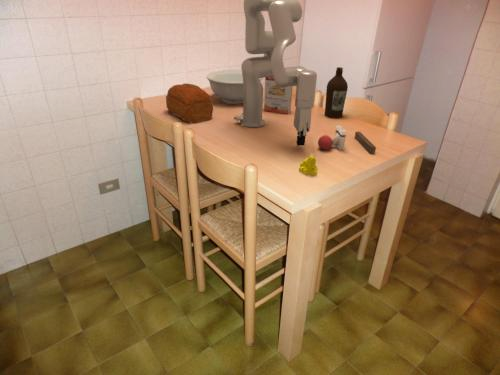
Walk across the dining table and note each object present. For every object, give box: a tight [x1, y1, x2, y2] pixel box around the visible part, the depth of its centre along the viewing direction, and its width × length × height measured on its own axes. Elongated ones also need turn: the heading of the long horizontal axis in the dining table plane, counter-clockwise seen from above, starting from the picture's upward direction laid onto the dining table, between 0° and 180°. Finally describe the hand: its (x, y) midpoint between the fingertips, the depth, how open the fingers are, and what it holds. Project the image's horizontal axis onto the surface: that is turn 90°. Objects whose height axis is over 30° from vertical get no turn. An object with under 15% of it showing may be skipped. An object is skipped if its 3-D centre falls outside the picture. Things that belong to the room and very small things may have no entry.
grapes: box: [298, 153, 319, 177], centre depth 132 cm, size 6×8×8 cm
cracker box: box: [263, 76, 294, 115], centre depth 192 cm, size 14×6×21 cm, turn 68°
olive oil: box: [324, 66, 349, 119], centre depth 186 cm, size 11×11×25 cm
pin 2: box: [337, 129, 347, 151], centre depth 151 cm, size 2×2×8 cm
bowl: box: [206, 69, 263, 104], centre depth 211 cm, size 32×32×15 cm
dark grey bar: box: [354, 131, 377, 155], centre depth 156 cm, size 2×18×3 cm, turn 6°
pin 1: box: [334, 124, 343, 147], centre depth 155 cm, size 2×2×8 cm
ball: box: [317, 134, 333, 150], centre depth 151 cm, size 6×6×6 cm
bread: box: [165, 83, 214, 124], centre depth 185 cm, size 16×27×16 cm, turn 37°
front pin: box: [330, 128, 344, 148], centre depth 153 cm, size 2×2×8 cm
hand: (300, 144), depth 153 cm, fingers closed
